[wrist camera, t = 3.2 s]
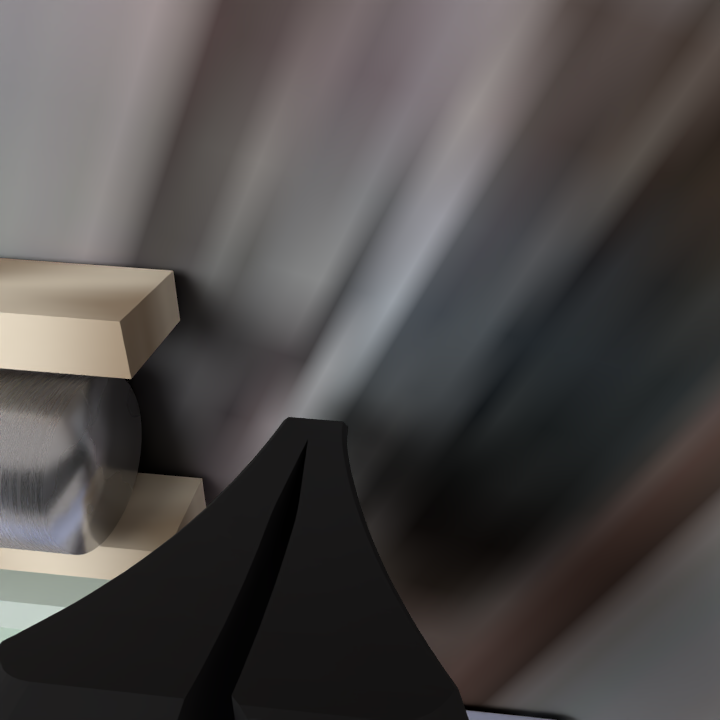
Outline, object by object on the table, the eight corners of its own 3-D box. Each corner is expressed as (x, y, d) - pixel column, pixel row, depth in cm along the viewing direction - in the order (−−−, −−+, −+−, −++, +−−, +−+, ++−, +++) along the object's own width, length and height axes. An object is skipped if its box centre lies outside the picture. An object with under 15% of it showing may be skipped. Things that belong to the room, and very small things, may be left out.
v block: (144, 535, 16) (103, 611, 14) (166, 632, 18) (134, 709, 16) (-112, 510, 16) (-191, 581, 14) (-57, 609, 19) (-117, 681, 17)
